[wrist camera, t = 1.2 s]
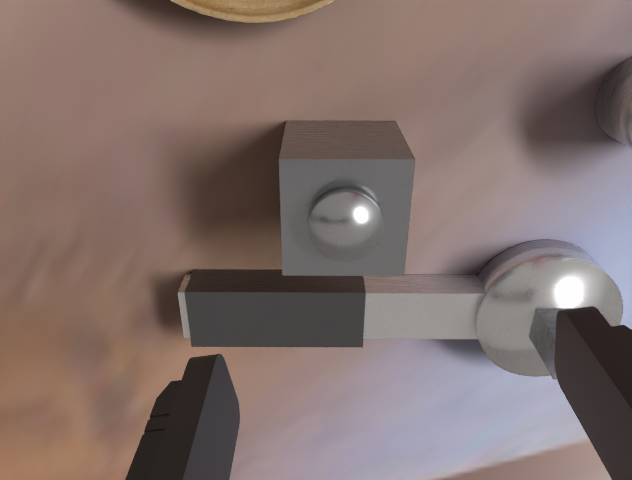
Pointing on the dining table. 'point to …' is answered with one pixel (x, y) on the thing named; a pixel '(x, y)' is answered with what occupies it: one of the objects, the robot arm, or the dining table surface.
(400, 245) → the socket
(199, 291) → the ratchet
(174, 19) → the dining table surface
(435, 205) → the dining table surface
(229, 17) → the plant saucer
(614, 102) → the socket
